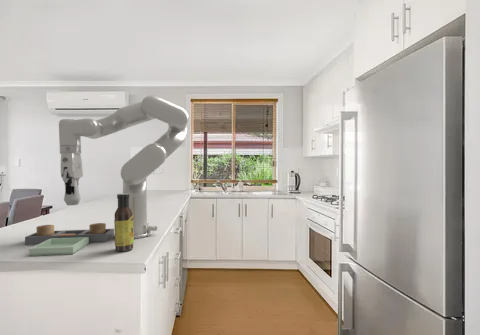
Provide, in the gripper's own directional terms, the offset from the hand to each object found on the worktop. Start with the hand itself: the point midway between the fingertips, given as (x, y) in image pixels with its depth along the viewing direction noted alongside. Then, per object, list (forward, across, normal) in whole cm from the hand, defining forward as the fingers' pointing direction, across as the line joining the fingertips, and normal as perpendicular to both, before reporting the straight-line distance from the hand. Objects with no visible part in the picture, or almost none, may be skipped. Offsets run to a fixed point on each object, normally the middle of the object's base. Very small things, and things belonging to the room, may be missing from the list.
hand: (72, 195), depth 124 cm
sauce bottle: (+19, -18, -24) cm, 36 cm away
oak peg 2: (+18, 0, -9) cm, 20 cm away
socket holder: (+18, 0, +1) cm, 18 cm away
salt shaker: (+4, 0, 0) cm, 4 cm away
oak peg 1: (+18, 0, +11) cm, 21 cm away
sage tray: (+18, -14, -1) cm, 23 cm away
